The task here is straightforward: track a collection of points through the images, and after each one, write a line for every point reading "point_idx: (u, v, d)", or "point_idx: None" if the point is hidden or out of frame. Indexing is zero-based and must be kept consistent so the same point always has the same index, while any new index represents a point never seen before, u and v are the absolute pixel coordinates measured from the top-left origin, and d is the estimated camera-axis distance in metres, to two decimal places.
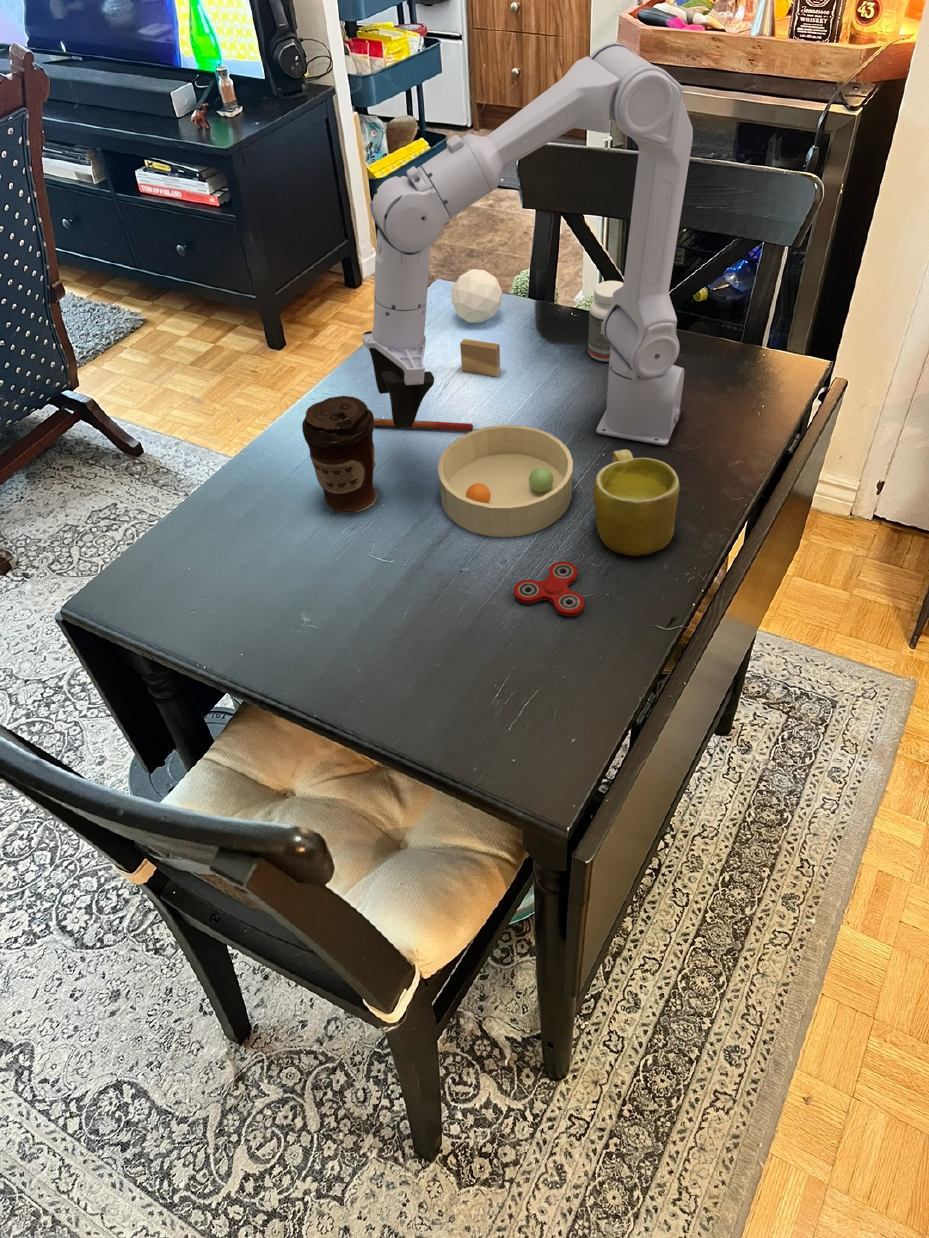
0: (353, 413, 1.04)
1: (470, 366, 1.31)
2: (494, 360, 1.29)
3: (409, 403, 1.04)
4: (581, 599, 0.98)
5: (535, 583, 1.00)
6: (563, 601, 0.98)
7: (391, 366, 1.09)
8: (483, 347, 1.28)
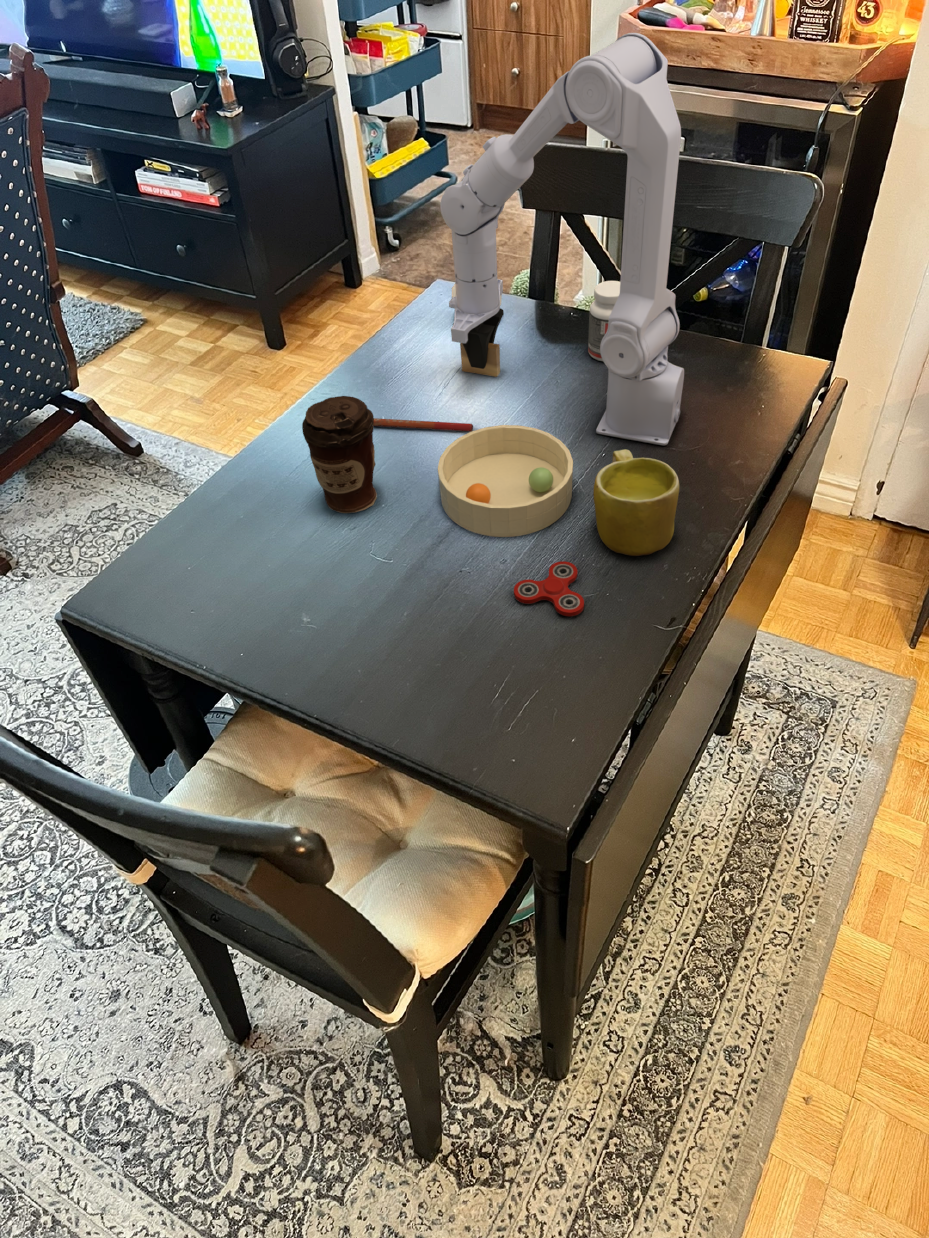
0: (353, 413, 1.04)
1: (470, 366, 1.31)
2: (494, 360, 1.29)
3: (478, 348, 1.28)
4: (581, 599, 0.98)
5: (535, 583, 1.00)
6: (563, 601, 0.98)
7: None
8: None
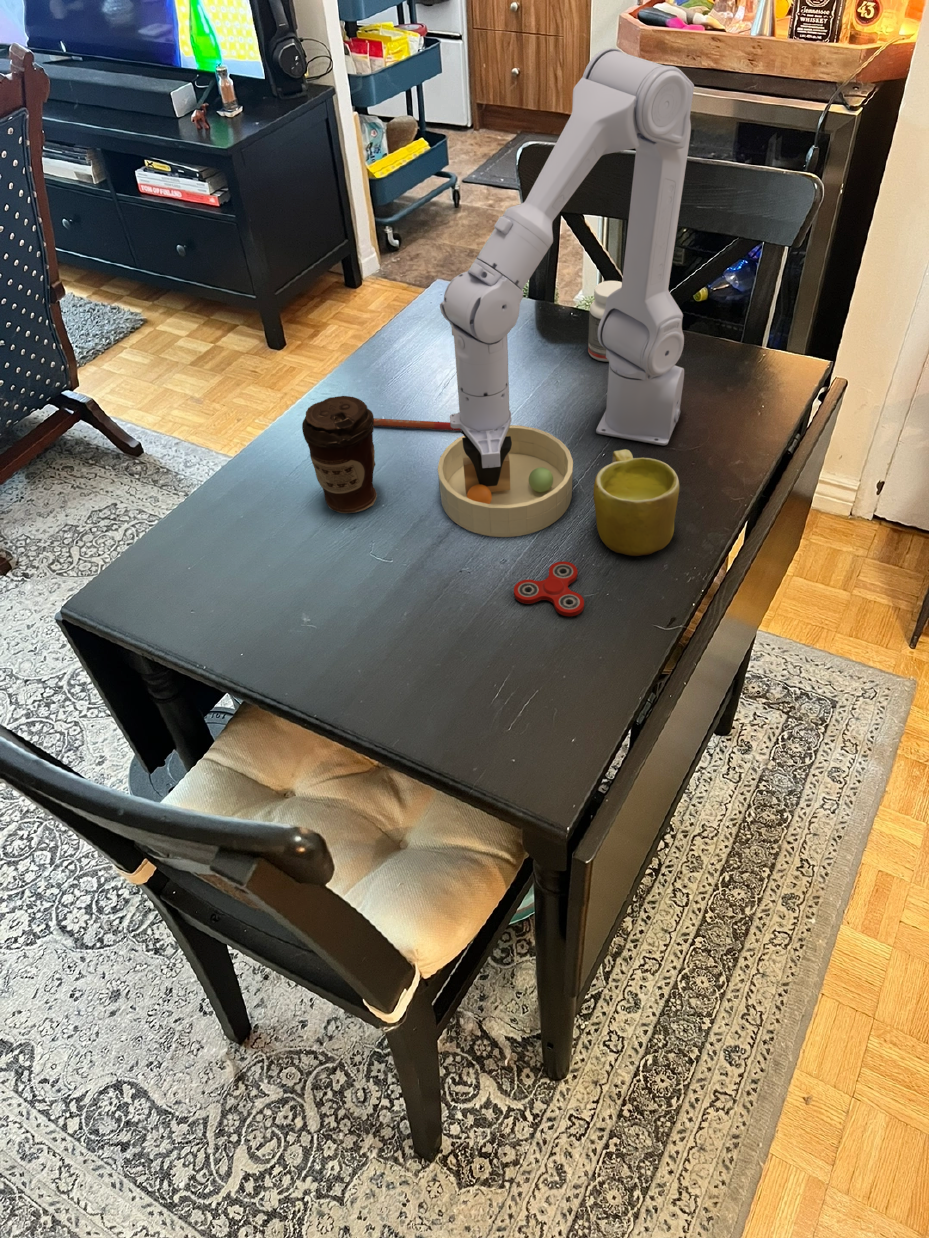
0: (353, 413, 1.04)
1: None
2: (507, 473, 1.10)
3: None
4: (581, 599, 0.98)
5: (535, 583, 1.00)
6: (563, 601, 0.98)
7: None
8: None
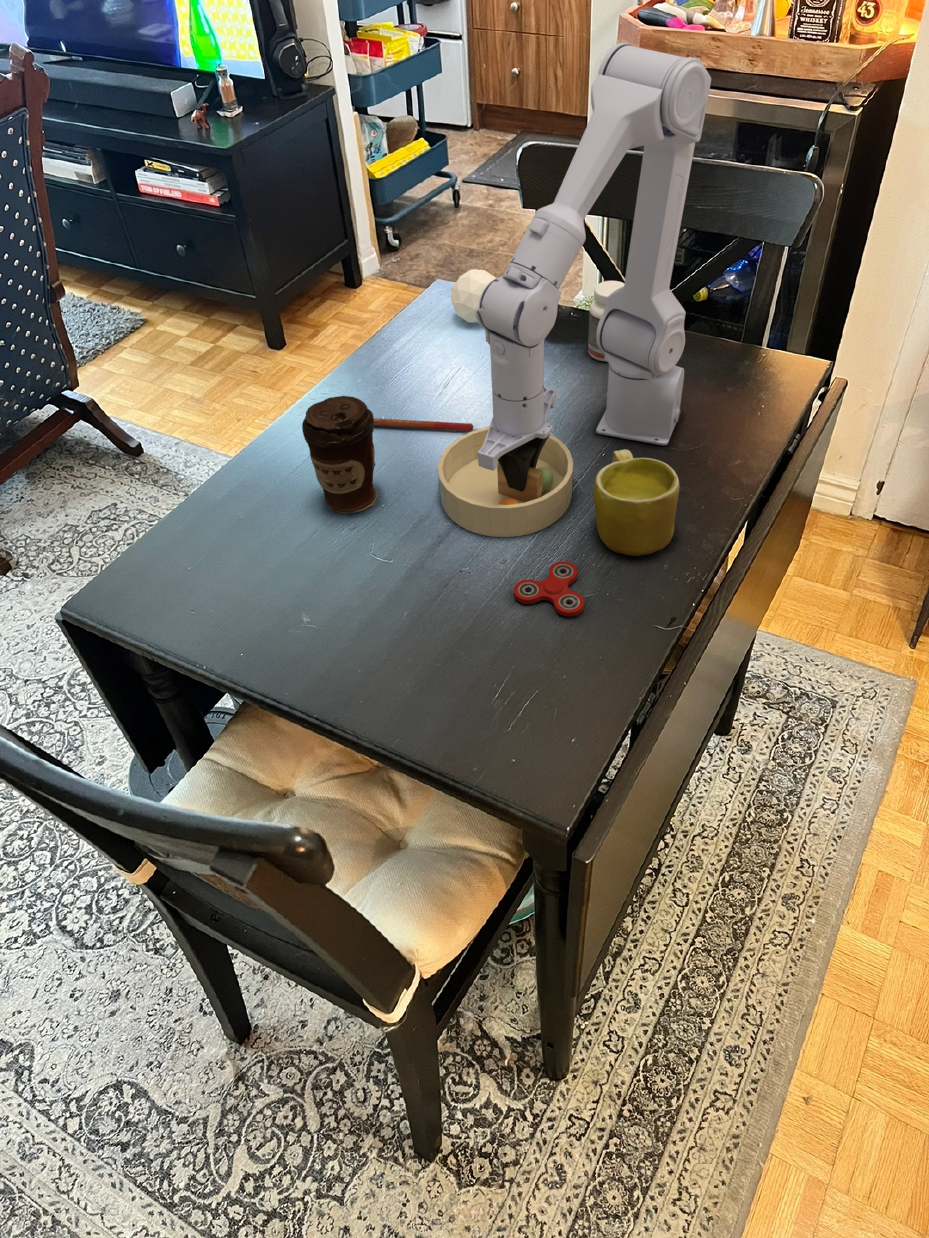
0: (353, 413, 1.04)
1: None
2: None
3: None
4: (581, 599, 0.98)
5: (535, 583, 1.00)
6: (563, 601, 0.98)
7: None
8: None
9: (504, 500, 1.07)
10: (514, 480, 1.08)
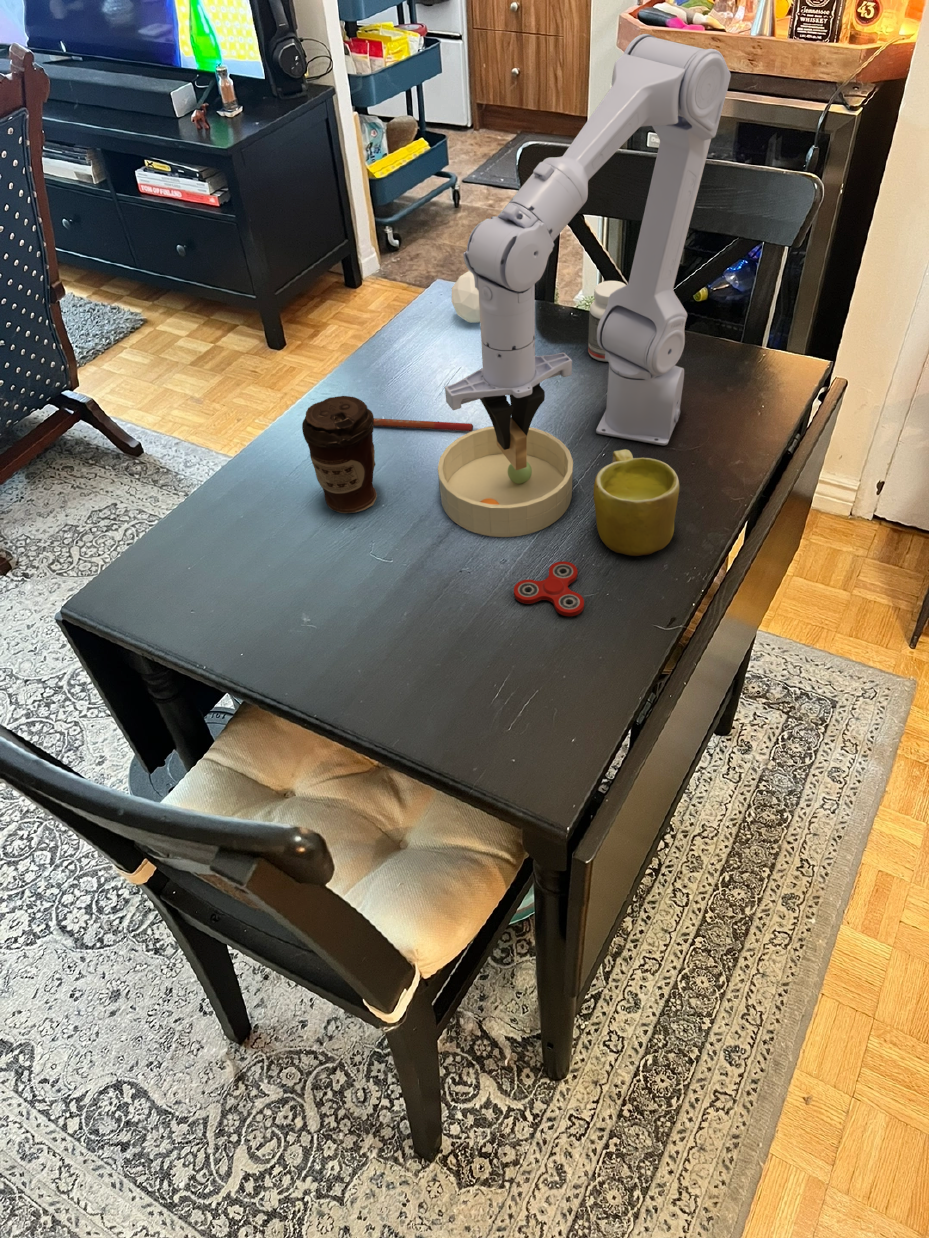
0: (353, 413, 1.04)
1: None
2: None
3: None
4: (581, 599, 0.98)
5: (535, 583, 1.00)
6: (563, 601, 0.98)
7: None
8: (512, 420, 1.05)
9: None
10: (499, 435, 1.05)
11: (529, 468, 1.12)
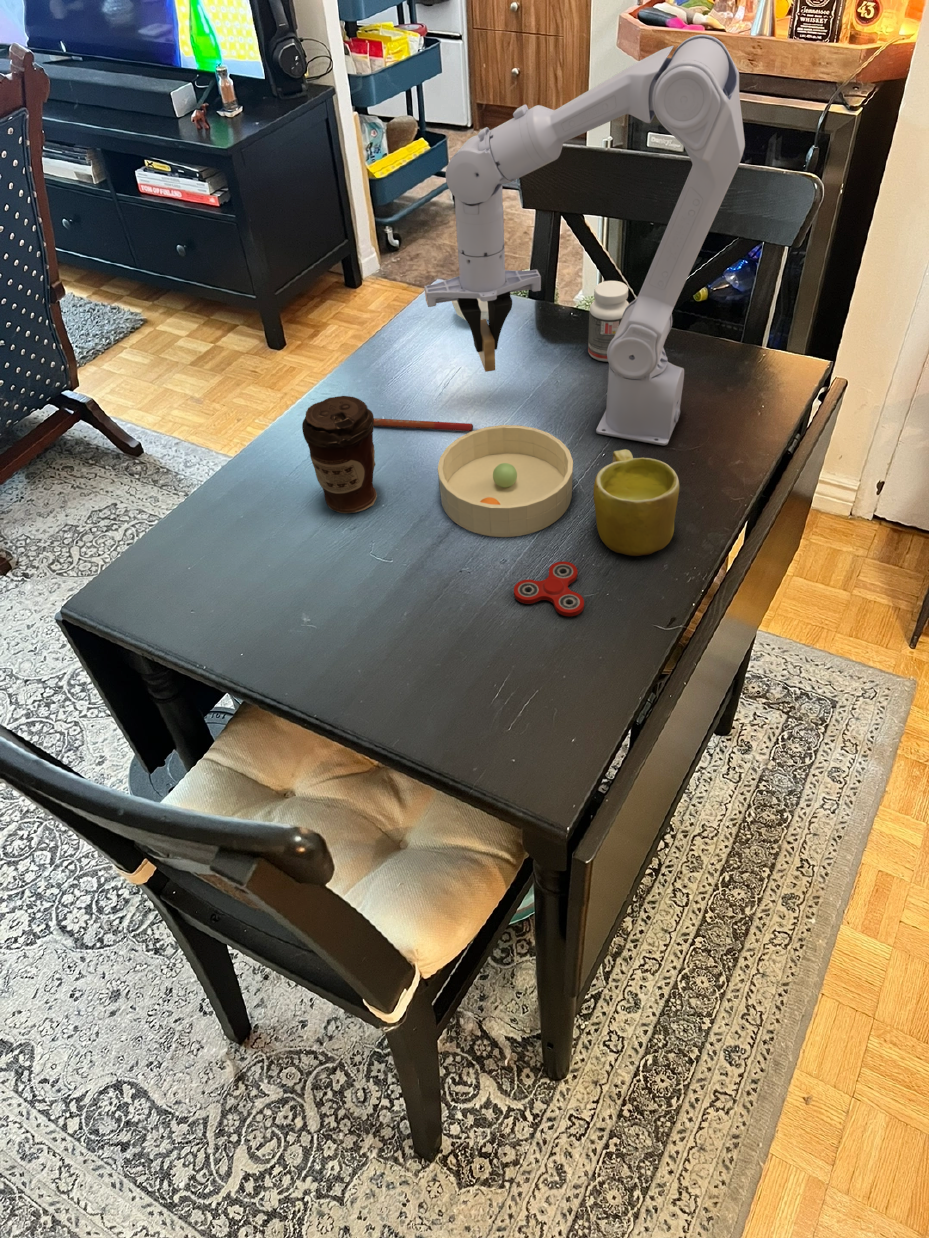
0: (353, 413, 1.04)
1: None
2: None
3: None
4: (581, 599, 0.98)
5: (535, 583, 1.00)
6: (563, 601, 0.98)
7: None
8: (488, 326, 1.20)
9: None
10: (474, 338, 1.19)
11: (503, 472, 1.11)
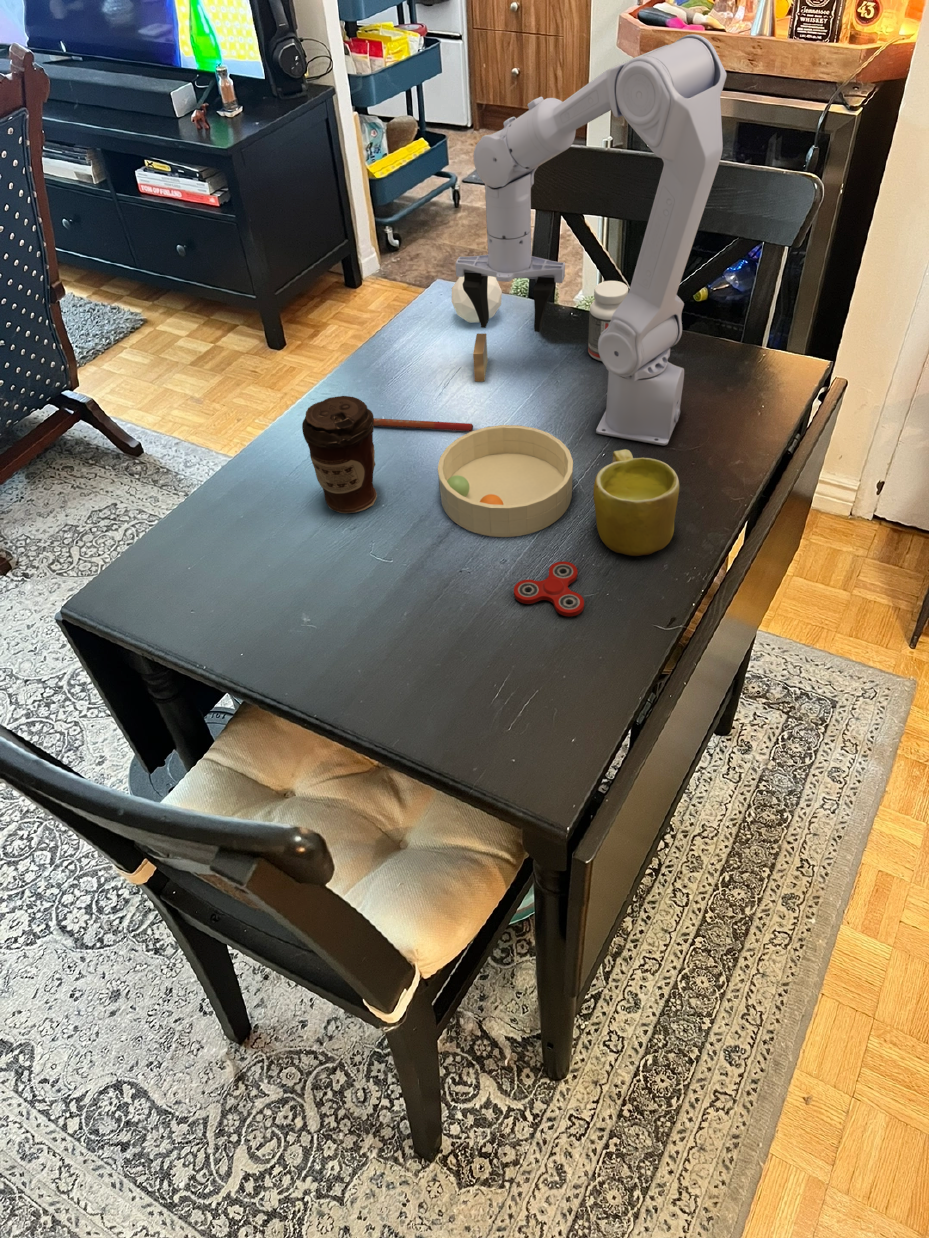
0: (353, 413, 1.04)
1: (484, 370, 1.31)
2: (486, 346, 1.32)
3: None
4: (581, 599, 0.98)
5: (535, 583, 1.00)
6: (563, 601, 0.98)
7: (485, 300, 1.26)
8: (484, 340, 1.30)
9: None
10: None
11: (468, 490, 1.11)
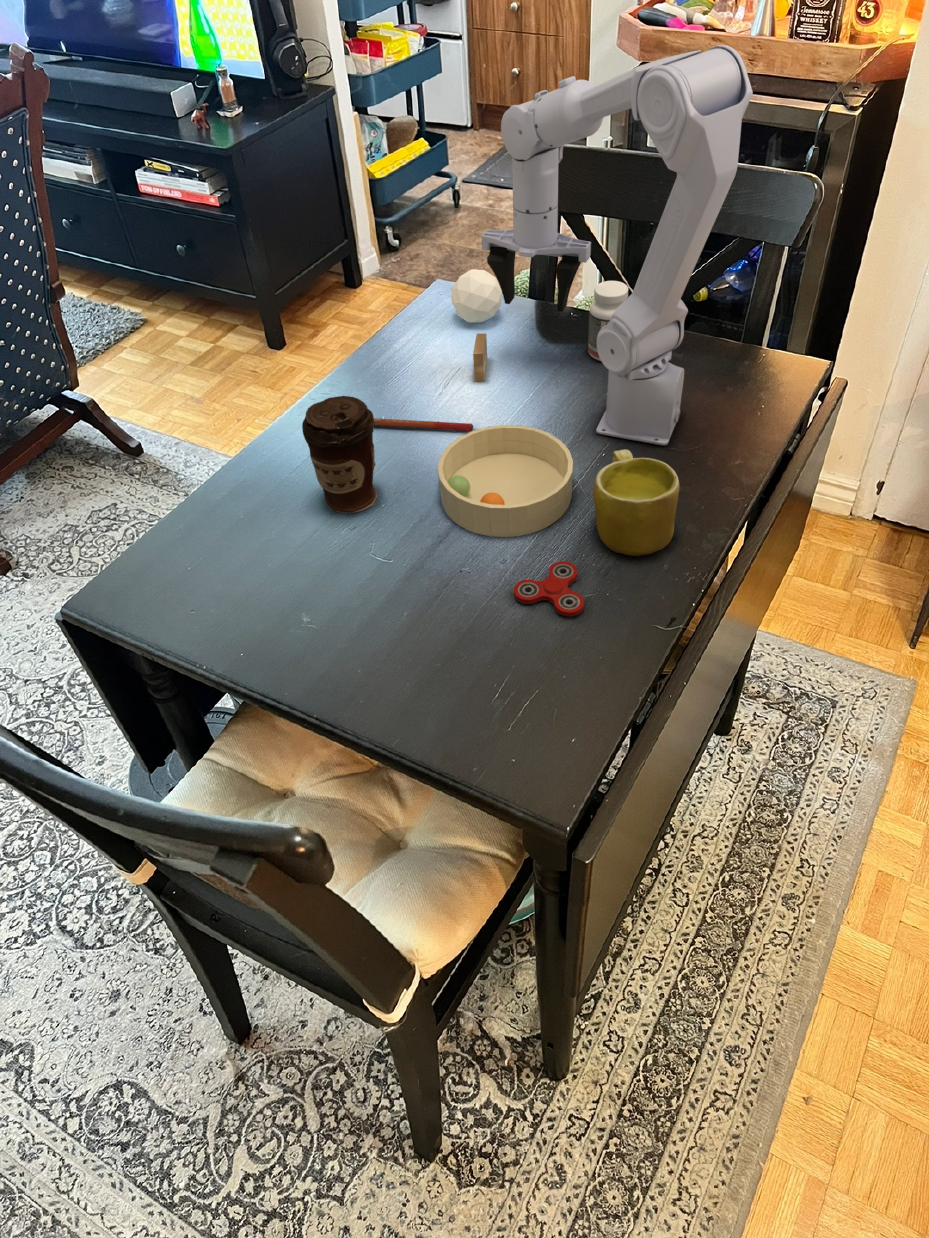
0: (353, 413, 1.04)
1: (484, 370, 1.31)
2: (486, 346, 1.32)
3: None
4: (581, 599, 0.98)
5: (535, 583, 1.00)
6: (563, 601, 0.98)
7: (510, 275, 1.25)
8: (484, 340, 1.30)
9: None
10: None
11: (469, 491, 1.11)
